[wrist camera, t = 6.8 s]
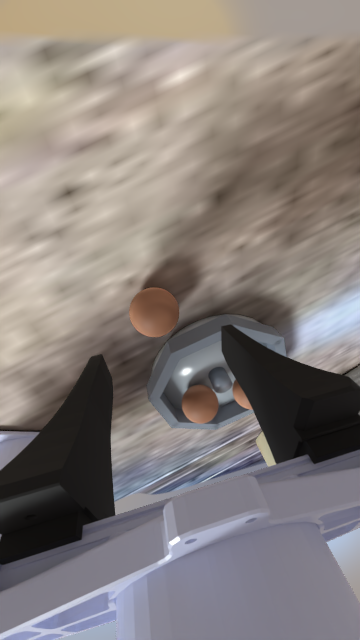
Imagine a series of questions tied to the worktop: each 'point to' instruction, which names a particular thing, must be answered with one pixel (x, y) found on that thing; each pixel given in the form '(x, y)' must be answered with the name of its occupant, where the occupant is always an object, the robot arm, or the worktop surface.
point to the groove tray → (203, 368)
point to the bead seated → (240, 396)
